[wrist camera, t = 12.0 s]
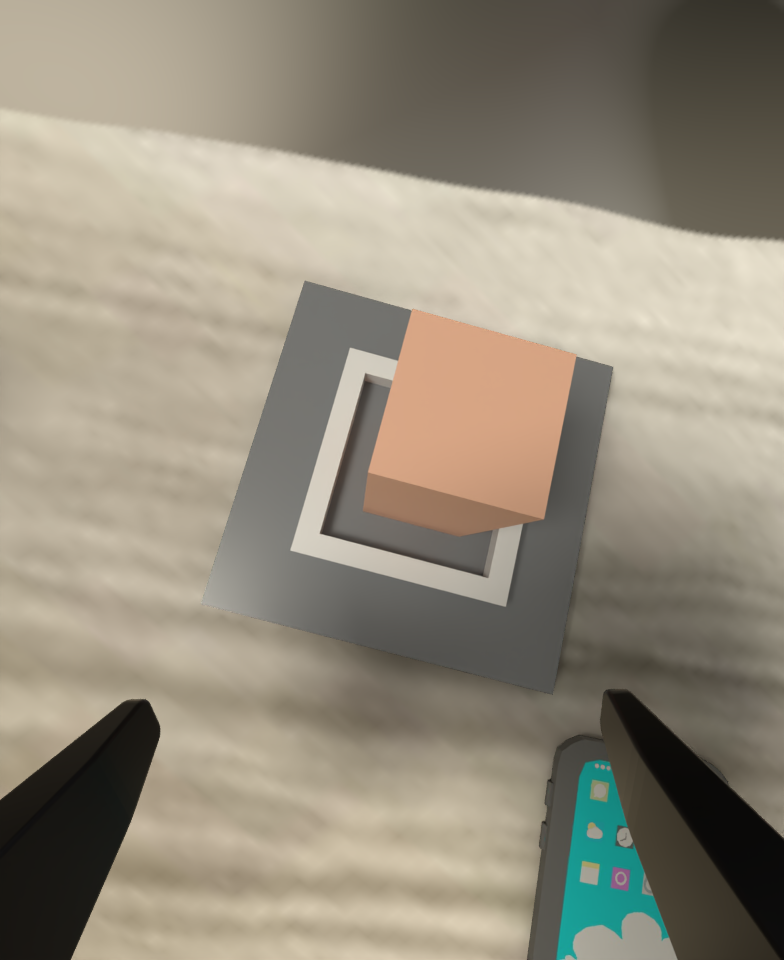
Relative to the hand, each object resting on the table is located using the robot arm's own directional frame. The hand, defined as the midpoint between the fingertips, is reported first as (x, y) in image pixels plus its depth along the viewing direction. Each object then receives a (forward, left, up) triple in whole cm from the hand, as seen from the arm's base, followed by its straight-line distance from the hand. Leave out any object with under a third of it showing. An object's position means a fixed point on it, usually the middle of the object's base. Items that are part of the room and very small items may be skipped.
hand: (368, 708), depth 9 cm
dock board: (+5, -5, -13) cm, 15 cm away
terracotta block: (+5, -5, -12) cm, 14 cm away
